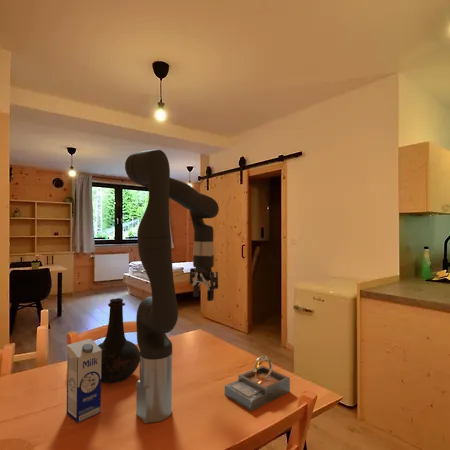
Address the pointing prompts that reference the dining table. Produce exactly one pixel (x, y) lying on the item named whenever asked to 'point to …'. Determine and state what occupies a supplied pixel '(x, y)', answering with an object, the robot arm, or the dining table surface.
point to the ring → (261, 363)
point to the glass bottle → (117, 348)
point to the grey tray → (257, 388)
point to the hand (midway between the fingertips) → (203, 298)
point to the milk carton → (83, 380)
